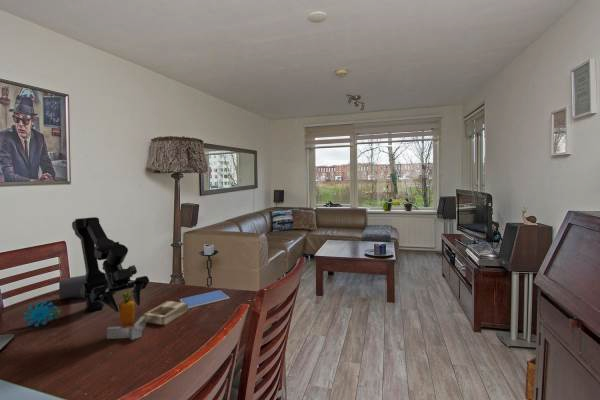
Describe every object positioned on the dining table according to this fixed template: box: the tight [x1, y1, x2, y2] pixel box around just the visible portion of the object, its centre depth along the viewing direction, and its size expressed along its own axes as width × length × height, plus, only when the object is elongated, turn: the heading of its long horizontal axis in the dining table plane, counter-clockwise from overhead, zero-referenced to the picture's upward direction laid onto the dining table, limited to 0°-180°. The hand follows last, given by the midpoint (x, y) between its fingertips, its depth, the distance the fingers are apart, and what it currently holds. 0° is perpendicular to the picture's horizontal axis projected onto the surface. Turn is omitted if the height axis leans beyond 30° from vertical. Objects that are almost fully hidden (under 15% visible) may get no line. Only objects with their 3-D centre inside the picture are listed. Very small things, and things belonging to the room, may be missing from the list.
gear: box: [23, 300, 62, 328], centre depth 124 cm, size 11×6×10 cm
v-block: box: [106, 315, 147, 341], centre depth 114 cm, size 9×13×4 cm, turn 140°
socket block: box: [142, 300, 189, 326], centre depth 129 cm, size 10×14×3 cm
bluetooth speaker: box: [58, 272, 111, 299], centre depth 152 cm, size 23×9×10 cm, turn 120°
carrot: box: [118, 290, 136, 326], centre depth 115 cm, size 5×5×15 cm
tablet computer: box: [179, 289, 230, 310], centre depth 146 cm, size 19×13×1 cm, turn 126°
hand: (128, 308), depth 114 cm, fingers open, 7 cm apart
